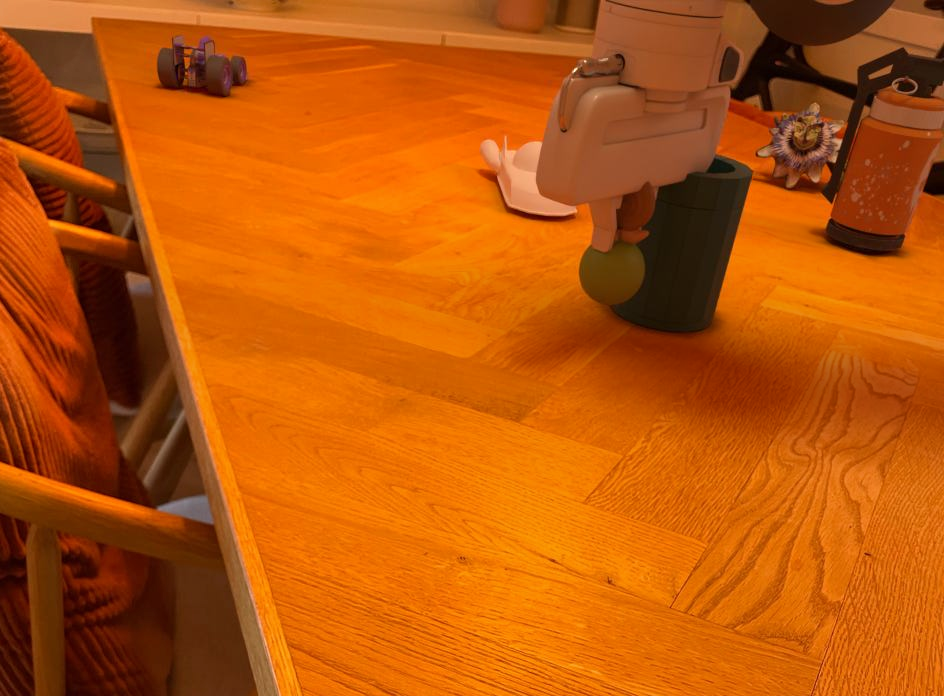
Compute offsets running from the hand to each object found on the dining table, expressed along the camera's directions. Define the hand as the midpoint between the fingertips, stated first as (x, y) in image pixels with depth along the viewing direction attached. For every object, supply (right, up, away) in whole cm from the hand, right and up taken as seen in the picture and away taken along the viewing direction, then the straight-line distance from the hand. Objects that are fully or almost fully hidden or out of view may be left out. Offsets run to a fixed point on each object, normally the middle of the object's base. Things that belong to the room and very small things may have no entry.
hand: (614, 246), depth 81 cm
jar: (+6, -2, +11) cm, 13 cm away
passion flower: (+34, +32, +58) cm, 75 cm away
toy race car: (-50, +50, +66) cm, 96 cm away
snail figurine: (-1, -4, +3) cm, 5 cm away
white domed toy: (-4, +21, +38) cm, 43 cm away
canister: (+34, +15, +38) cm, 53 cm away
